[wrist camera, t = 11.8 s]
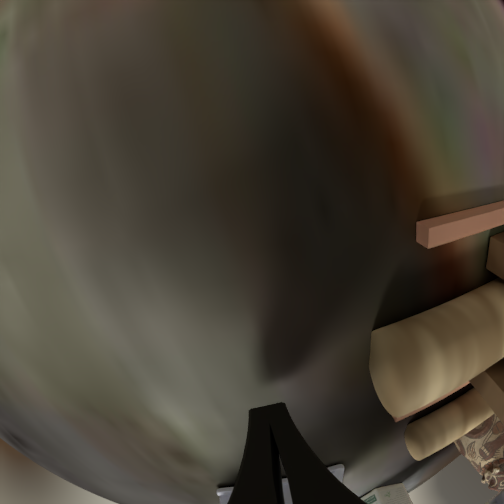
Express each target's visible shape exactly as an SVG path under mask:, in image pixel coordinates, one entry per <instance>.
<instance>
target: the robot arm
mask: <svg viewBox="0 0 504 504" xmlns="http://www.w3.org/2000/svg"><path fill="white" fill-rule="evenodd" d="M279 455H280V458H281V461H282V464H283V466H284V469H285V472H286V475H287V478H284V479H282V477H281V468H280V459H279ZM344 469H345V468H344V465H343V464H338V465H334V466H331V467H328V468H326V466H325V465H324V464H323V463H322V462H321V461H320V459H319V458H318V457H317V456H316V455H315V453H314V452H313V451H312V450H311V448H310V447H309V446H308V444H307V443H306V441H305V440H304V438H303V437H302V436H301V434H300V432H299V431H298V429H297V428H296V426H295V424H294V422H293V420H292V419H291V417H290V414H289V412H288V410H287V407H286V404H285V403H283V402H281V403H276V404H272V405H267V406H263V407H258V408H253V409H250V410H249V423H248V432H247V439H246V444H245V449H244V454H243V459H242V462H241V466H240V469H239V473H238V476H237V479H236V482H235V485H234V487H225V488H219V489H217V494H218V495H219V496H220V504H367V503H366V502H364V501H363V500H362V499H360V498H359V497H358V496H357V495H355V494H354V493H353V492H352V491H350V490H349V489H348V488H347V487H346V486H345V485H344V484H342V480H343V475H344ZM485 504H504V489H503V490H502V491H500V492H499V493H498V494H497V495H496V496H494V497H493V498H492V499H490V500H489V501H488V502H487V503H485Z"/></svg>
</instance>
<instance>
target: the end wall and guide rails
mask: <svg viewBox="0 0 504 504" xmlns="http://www.w3.org/2000/svg"><path fill="white" fill-rule="evenodd" d="M503 224H504V201H500V202H496V203H492V204H488V205H484V206H480V207H476V208H472V209H467V210H463V211H459V212H455V213H451V214H447V215H443V216H439V217H435V218H431V219H426V220H422V221H418V222H416V242H418V243H419V244H421V245H423V246H424V247H426V248H427V249H429V248H433V247H436V246H439V245H442V244H446V243H449V242H452V241H455V240H458V239H461V238H464V237H467V236H471V235H474V234H477V233H480V232H483V231H486V230H489V229H491V228H494V227H497V226H500V225H503ZM469 383H470V382H469V381H468V382H466V383H464V384H463V385H461V386H459V387H458V388H456V389H454V390H452V391H451V392H449V393H447V394H445V395H444V396H442V397H440V398H438V399H436V400H434V401H432V402H431V403H429V404H427V405H425V406H423V407H421V408H419V409H417V410H414V411H412V412H410V413H408V414H406V415H404V416H402V417H394V416H392V417H393V418H394V420H395V422H397V421H400V420H402V419H404V418H406V417H408V416H410V415H413V414H415V413H417V412H419V411H421V410H423V409H425V408H427V407H429V406H431V405H432V404H434V403H436V402H438V401H440V400H442V399H444V398H445V397H447V396H449V395H451V394H452V393H454V392H456V391H457V390H459V389H461V388H462V387H464V386H466V385H467V384H469Z"/></svg>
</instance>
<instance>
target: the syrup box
mask: <svg viewBox="0 0 504 504" xmlns="http://www.w3.org/2000/svg"><path fill="white" fill-rule="evenodd" d="M360 499H362V500H363V501H364V502H366V503H367V504H413V503H412V501H411V499H410V497H409V495H408V493H407V491H406V489H405V487H404V485H403V483H399V484H393V485H388V486H384V487H380V488H375V489H374V490H372V491H371V492H370V493H368V494H367V495H365V496H363V497H361V498H360Z"/></svg>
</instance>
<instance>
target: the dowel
mask: <svg viewBox="0 0 504 504" xmlns="http://www.w3.org/2000/svg"><path fill="white" fill-rule="evenodd" d="M503 357H504V280H503V279H502V278H500V277H498V278H497V279H495V280H493V281H491V282H489V283H487V284H485V285H483V286H481V287H479V288H477V289H474V290H472V291H470V292H468V293H466V294H464V295H462V296H459V297H457V298H455V299H453V300H451V301H448V302H446V303H444V304H441V305H439V306H437V307H434V308H432V309H429V310H427V311H424V312H422V313H419V314H417V315H414V316H412V317H409V318H407V319H404V320H401V321H399V322H396V323H393V324H390V325H388V326H385V327H382V328H379V329H376V330H374V331H372V332H371V347H370V359H369V370H370V375H371V378H372V382H373V385H374V388H375V391H376V393H377V395H378V397H379V400H380V401H381V403H382V405H383V406H384V408H385V409H386V410H387V412H388V413H389V414H391V415H392V416H394V417H402V416H404V415H406V414H408V413H410V412H412V411H414V410H417V409H419V408H421V407H423V406H425V405H427V404H429V403H431V402H432V401H434V400H436V399H438V398H440V397H442V396H444V395H445V394H447V393H449V392H451V391H452V390H454V389H456V388H458V387H459V386H461V385H463V384H464V383H466V382H468V381H469V380H471V379H472V378H474V377H475V376H477V375H479V374H480V373H482V372H483V371H485V370H486V369H487V368H489V367H490V366H492V365H493V364H495V363H496V362H497V361H499V360H500V359H502V358H503Z"/></svg>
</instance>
